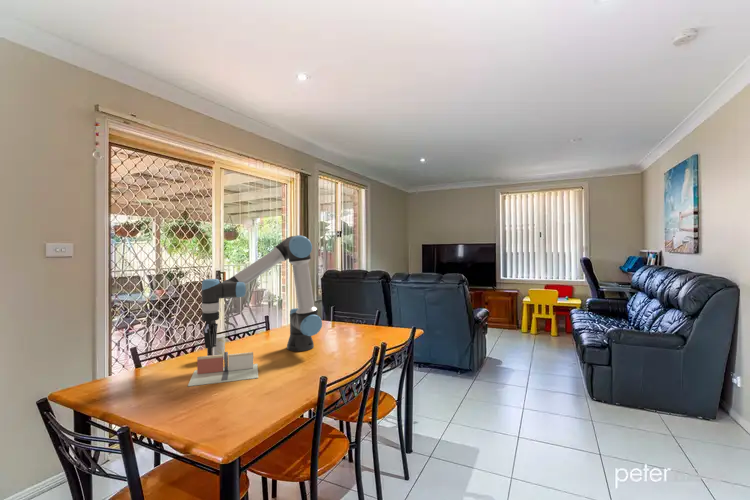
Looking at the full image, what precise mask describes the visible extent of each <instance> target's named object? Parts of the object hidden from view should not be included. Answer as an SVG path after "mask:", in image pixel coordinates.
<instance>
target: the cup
mask: <svg viewBox="0 0 750 500" xmlns="http://www.w3.org/2000/svg"><path fill="white" fill-rule="evenodd" d="M215 345H216V347H214V355H223V361H224V352H226V350H225V349H226V335H225V334H223V333H222V334H217V336H216V344H215Z"/></svg>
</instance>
